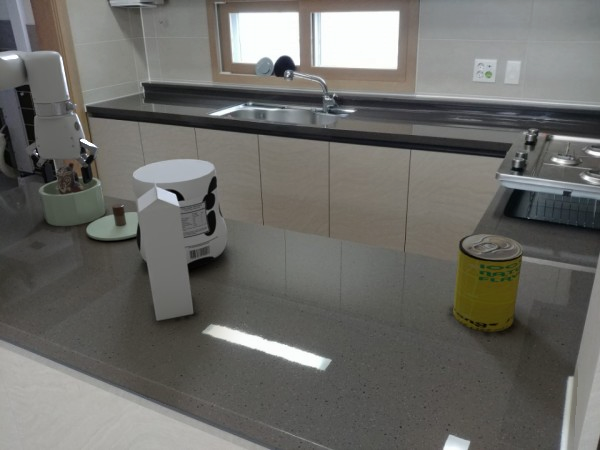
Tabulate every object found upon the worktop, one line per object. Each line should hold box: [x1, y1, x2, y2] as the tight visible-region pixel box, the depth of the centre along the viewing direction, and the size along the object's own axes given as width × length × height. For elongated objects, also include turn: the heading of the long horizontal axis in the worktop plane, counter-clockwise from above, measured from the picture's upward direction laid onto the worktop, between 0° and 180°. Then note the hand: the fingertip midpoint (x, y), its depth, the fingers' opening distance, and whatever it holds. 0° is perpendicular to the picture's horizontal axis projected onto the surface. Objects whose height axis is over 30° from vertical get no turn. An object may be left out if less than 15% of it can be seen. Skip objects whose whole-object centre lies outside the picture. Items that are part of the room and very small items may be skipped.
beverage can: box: [452, 233, 524, 333], centre depth 82 cm, size 9×9×12 cm
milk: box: [137, 179, 194, 322], centre depth 85 cm, size 6×6×22 cm
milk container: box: [131, 158, 228, 269], centre depth 103 cm, size 17×17×18 cm
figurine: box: [55, 162, 84, 195], centre depth 128 cm, size 7×7×12 cm
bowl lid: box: [85, 203, 138, 241], centre depth 120 cm, size 15×15×6 cm
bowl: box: [38, 176, 106, 227], centre depth 129 cm, size 14×14×8 cm
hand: (68, 181), depth 127 cm, fingers open, 9 cm apart
